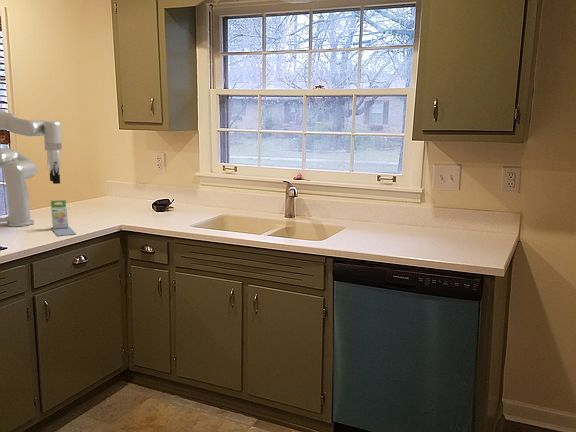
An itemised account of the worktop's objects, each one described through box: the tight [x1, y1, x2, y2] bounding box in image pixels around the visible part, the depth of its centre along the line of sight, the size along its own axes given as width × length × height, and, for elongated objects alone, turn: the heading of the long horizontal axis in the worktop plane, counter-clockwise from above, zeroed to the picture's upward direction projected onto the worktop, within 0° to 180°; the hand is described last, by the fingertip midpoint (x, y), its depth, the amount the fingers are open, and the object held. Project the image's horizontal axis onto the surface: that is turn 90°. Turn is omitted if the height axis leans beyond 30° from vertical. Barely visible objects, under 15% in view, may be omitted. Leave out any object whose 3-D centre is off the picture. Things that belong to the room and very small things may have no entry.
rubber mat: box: [50, 225, 77, 237], centre depth 257 cm, size 8×20×1 cm, turn 31°
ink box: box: [50, 199, 69, 229], centre depth 260 cm, size 7×4×13 cm, turn 115°
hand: (55, 182), depth 264 cm, fingers open, 9 cm apart
